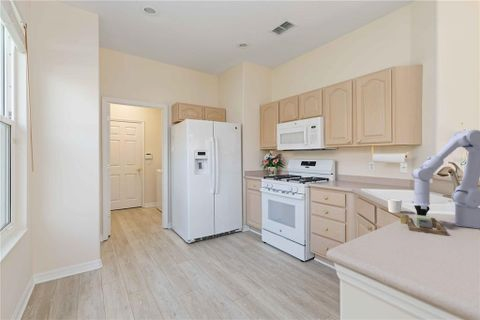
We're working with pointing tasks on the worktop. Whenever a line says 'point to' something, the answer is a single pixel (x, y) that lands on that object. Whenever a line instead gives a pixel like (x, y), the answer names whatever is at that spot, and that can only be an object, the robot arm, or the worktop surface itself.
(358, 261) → the worktop surface
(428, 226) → the block
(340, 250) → the worktop surface
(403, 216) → the tan textured block
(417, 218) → the block
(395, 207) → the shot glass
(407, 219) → the twin wooden rails
